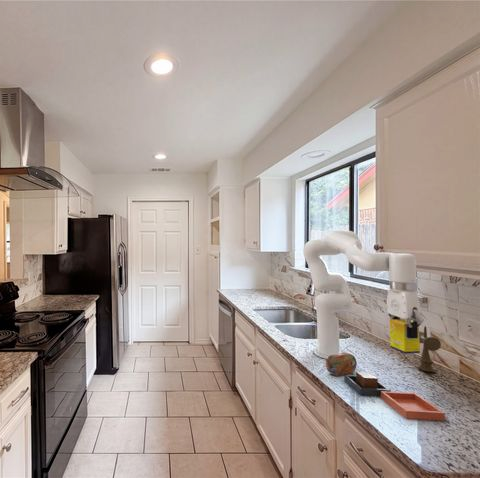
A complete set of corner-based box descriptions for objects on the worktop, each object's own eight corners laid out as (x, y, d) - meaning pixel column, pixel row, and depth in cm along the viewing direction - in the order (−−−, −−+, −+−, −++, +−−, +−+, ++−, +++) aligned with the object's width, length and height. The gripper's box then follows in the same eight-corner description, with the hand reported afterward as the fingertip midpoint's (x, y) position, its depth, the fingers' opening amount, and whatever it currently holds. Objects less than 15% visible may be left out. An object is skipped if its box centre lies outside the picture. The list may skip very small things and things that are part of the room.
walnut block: (356, 383, 108) (355, 371, 108) (369, 384, 107) (369, 372, 107) (364, 390, 103) (363, 377, 103) (377, 391, 102) (377, 378, 102)
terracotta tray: (380, 397, 99) (380, 391, 99) (415, 399, 97) (414, 392, 97) (406, 418, 87) (405, 410, 87) (445, 420, 86) (445, 413, 86)
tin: (331, 377, 114) (330, 357, 114) (324, 373, 117) (324, 354, 117) (357, 372, 118) (357, 353, 118) (350, 369, 121) (350, 350, 121)
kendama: (425, 374, 115) (424, 329, 115) (411, 365, 124) (410, 322, 125) (442, 376, 113) (441, 330, 114) (427, 366, 123) (426, 323, 123)
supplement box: (404, 346, 102) (403, 318, 102) (420, 353, 96) (419, 323, 96) (389, 347, 101) (388, 318, 101) (404, 354, 95) (404, 323, 95)
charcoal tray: (344, 380, 111) (344, 374, 111) (371, 382, 110) (371, 376, 110) (360, 395, 100) (360, 388, 100) (391, 397, 99) (390, 390, 99)
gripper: (375, 283, 108) (376, 327, 108) (411, 290, 91) (413, 343, 90) (395, 283, 107) (396, 327, 107) (435, 290, 90) (437, 343, 90)
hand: (404, 334), depth 99 cm, fingers closed on supplement box, 6 cm apart
